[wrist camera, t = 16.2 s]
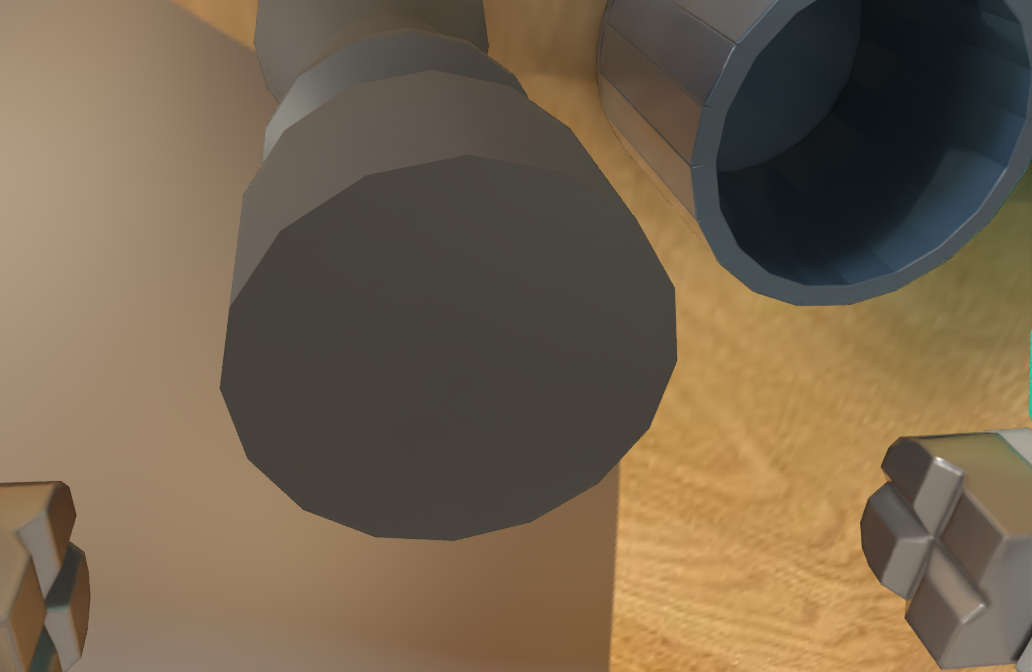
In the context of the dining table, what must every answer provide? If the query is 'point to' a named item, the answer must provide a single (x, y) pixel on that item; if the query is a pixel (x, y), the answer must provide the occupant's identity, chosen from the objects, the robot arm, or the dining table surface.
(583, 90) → the dining table surface
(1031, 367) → the table top decor
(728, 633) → the dining table surface
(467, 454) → the candle holder
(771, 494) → the dining table surface
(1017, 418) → the dining table surface
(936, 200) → the crock
